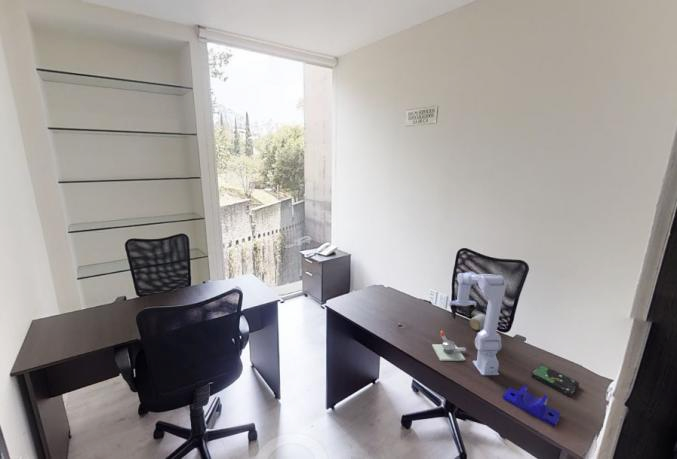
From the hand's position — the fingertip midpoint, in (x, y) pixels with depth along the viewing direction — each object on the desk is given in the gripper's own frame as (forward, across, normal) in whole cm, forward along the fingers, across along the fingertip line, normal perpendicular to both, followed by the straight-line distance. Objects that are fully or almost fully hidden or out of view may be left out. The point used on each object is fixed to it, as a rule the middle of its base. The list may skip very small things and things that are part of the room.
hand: (460, 317), depth 167 cm
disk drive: (+11, -27, +37) cm, 47 cm away
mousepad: (+11, +28, -6) cm, 30 cm away
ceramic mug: (+10, -14, -4) cm, 18 cm away
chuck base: (+10, +11, +16) cm, 22 cm away
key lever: (+7, +12, +13) cm, 19 cm away
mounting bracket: (+11, -7, +51) cm, 52 cm away
